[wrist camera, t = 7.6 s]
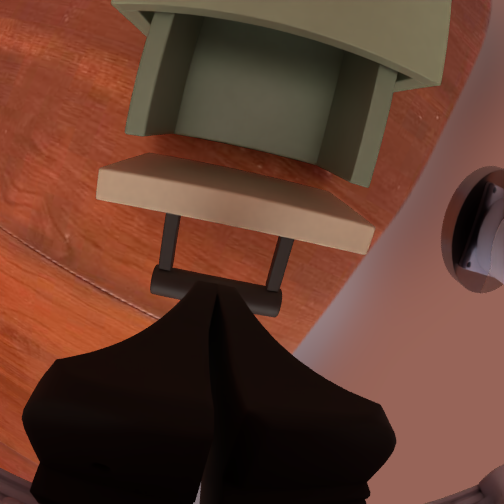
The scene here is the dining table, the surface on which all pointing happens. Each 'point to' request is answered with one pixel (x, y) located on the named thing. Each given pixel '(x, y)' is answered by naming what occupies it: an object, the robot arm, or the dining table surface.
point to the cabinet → (335, 27)
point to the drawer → (250, 139)
